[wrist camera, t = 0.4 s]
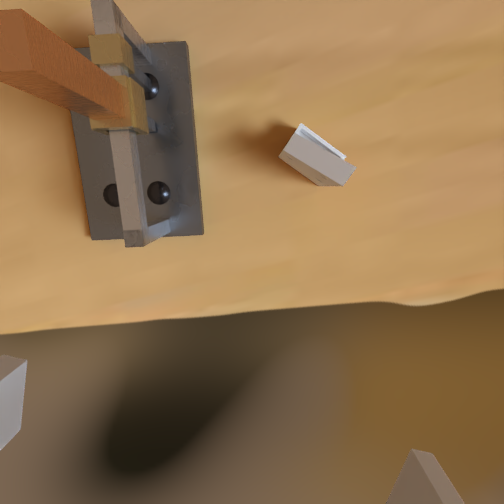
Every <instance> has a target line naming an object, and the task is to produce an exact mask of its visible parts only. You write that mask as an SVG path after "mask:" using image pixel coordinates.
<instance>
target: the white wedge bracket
mask: <svg viewBox="0 0 504 504" xmlns="http://www.w3.org/2000/svg"><path fill="white" fill-rule="evenodd" d="M278 157H279V158H280V159H282V160H283V161H284V162H286V163H287V164H288V165H290V166H291V167H293V168H294V169H295V170H297V171H298V172H300V173H301V174H302V175H304V176H305V177H307V178H308V179H309V180H311V181H312V182H314V183H315V184H316V185H318V186H343V185H344V184H345V183H346V181H347V180H348V179H349V177H350V176H351V175H352V173H353V172H354V170H355V169H356V168H357V167H355V166H353V165H351V164H350V163H348V162H346V161H344V159H345V157H346V156H345V155H344V154H342V153H341V152H340V151H338V150H337V149H336V148H334V147H333V146H331V145H330V144H329V143H327V142H326V141H325V140H323V139H322V138H321V137H319V136H318V135H317V134H315V133H314V132H313V131H311V130H310V129H309V128H307V127H306V126H304V125H303V124H302V123H301V124H300V125H299V127H298V128H297V130H296V131H295V133H294V134H293V135H292V137H291V138H290V140H289V141H288V143H287V144H286V146H285V147H284V149H283V150H282V152H281V153H280V155H279V156H278Z"/></svg>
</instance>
